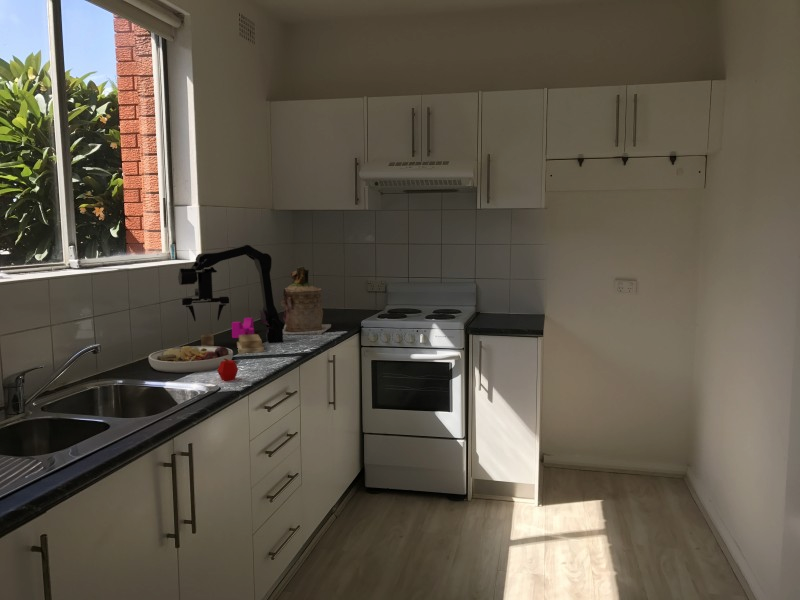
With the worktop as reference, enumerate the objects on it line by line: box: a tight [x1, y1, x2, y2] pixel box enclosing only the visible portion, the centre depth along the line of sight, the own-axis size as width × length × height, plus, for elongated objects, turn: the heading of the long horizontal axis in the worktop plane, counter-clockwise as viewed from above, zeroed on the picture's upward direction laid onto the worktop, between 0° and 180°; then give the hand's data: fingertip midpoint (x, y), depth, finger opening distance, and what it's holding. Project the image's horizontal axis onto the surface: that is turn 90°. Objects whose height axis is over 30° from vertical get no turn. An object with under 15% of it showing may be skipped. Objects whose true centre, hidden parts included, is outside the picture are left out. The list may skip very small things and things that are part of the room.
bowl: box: [148, 345, 234, 373], centre depth 251 cm, size 30×30×8 cm
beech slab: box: [236, 341, 265, 355], centre depth 281 cm, size 10×18×3 cm, turn 16°
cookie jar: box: [280, 265, 332, 336], centre depth 325 cm, size 25×25×32 cm
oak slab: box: [238, 333, 263, 349], centre depth 280 cm, size 8×16×3 cm, turn 18°
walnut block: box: [200, 333, 215, 346], centre depth 282 cm, size 5×5×6 cm
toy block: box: [231, 317, 255, 339], centre depth 316 cm, size 15×6×8 cm, turn 168°
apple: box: [217, 358, 239, 382], centre depth 226 cm, size 7×7×8 cm
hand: (206, 320), depth 281 cm, fingers open, 9 cm apart
